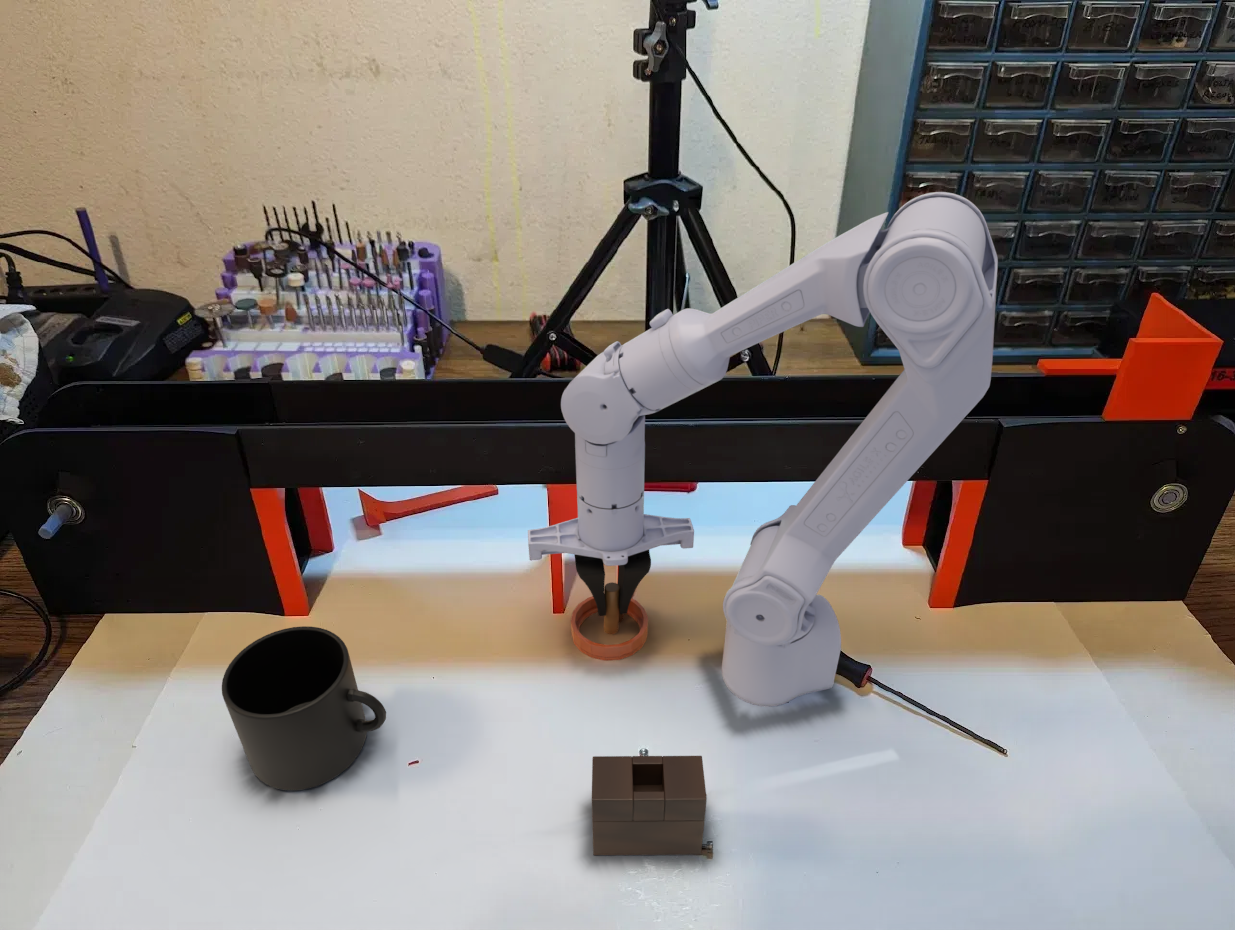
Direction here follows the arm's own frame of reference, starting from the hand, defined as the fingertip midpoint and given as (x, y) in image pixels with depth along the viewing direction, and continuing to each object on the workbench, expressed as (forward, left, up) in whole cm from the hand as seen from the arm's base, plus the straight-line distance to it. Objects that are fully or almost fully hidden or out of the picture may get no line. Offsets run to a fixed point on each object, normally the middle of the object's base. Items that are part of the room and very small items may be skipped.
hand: (611, 607), depth 76 cm
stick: (0, 0, -3) cm, 3 cm away
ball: (-1, -1, -3) cm, 3 cm away
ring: (0, 0, -4) cm, 4 cm away
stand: (+2, +20, -4) cm, 21 cm away
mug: (+26, +6, -4) cm, 27 cm away
